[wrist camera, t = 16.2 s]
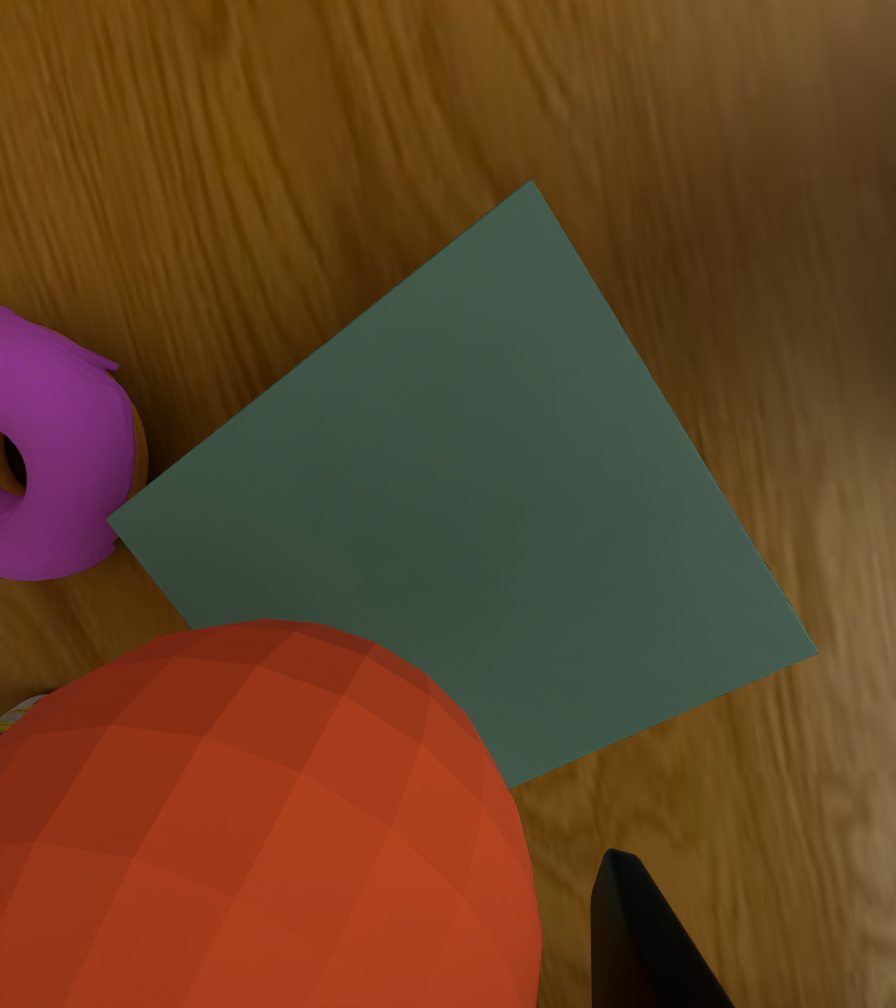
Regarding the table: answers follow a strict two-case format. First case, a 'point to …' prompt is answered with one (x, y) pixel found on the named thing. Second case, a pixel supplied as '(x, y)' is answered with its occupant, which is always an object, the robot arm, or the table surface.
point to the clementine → (260, 835)
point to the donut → (62, 452)
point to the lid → (481, 507)
